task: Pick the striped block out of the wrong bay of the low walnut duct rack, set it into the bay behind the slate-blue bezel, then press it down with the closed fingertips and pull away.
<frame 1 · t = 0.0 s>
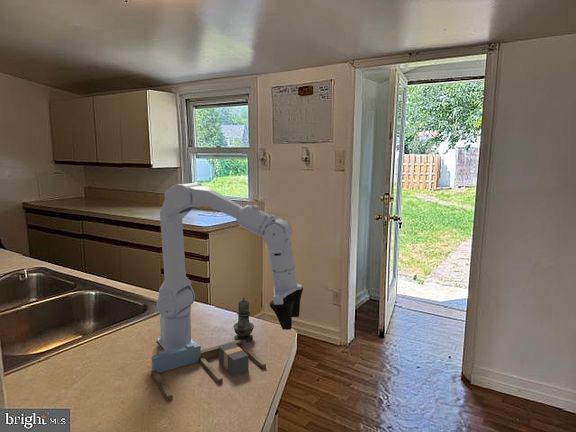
hand: (291, 322, 96), 11 cm above the table, tool pointing down, fingers open, 7 cm apart
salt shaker: (243, 338, 111), on the table
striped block: (233, 366, 96), on the table
duct rack: (210, 371, 93), on the table
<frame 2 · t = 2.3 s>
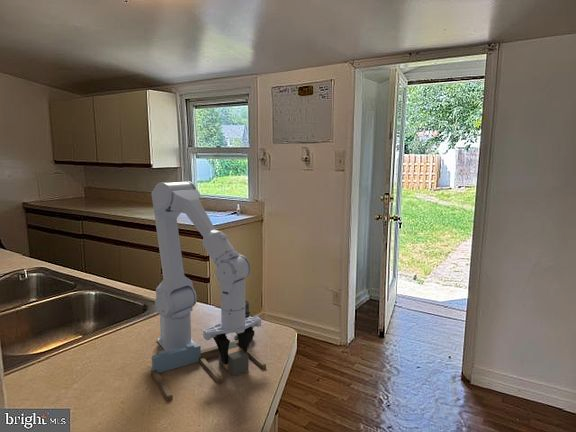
hand: (233, 359, 95), 2 cm above the table, tool pointing down, fingers closed on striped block, 4 cm apart
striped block: (233, 365, 96), on the table, touching gripper
everything else where it was.
when the fingers open (3 cm above the table, at t = 5.9 s): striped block drops 1 cm, on the table.
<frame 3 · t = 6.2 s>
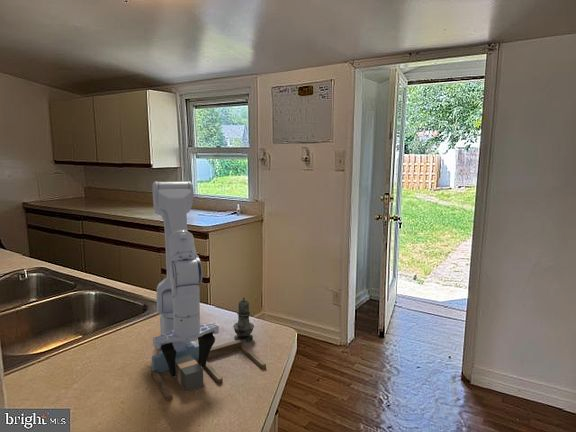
hand: (187, 369, 89), 3 cm above the table, tool pointing down, fingers open, 6 cm apart
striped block: (188, 380, 89), on the table
everything else where it was.
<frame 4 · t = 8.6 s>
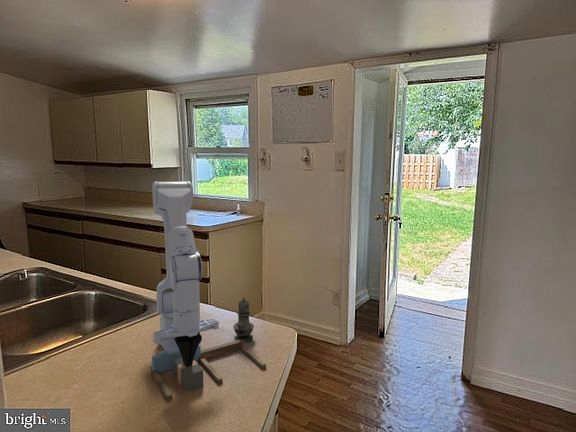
hand: (187, 364, 89), 4 cm above the table, tool pointing down, fingers closed, pressing on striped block
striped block: (188, 381, 89), on the table, touching gripper
everything else where it was.
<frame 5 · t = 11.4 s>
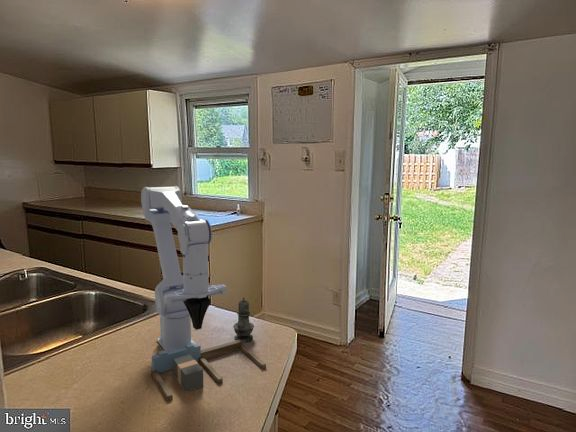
hand: (197, 327, 93), 10 cm above the table, tool pointing down, fingers closed
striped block: (188, 380, 89), on the table
everything else where it was.
at the end: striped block 0.1 cm from the target spot, on the table; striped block tilted 0°; the gripper is holding nothing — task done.
